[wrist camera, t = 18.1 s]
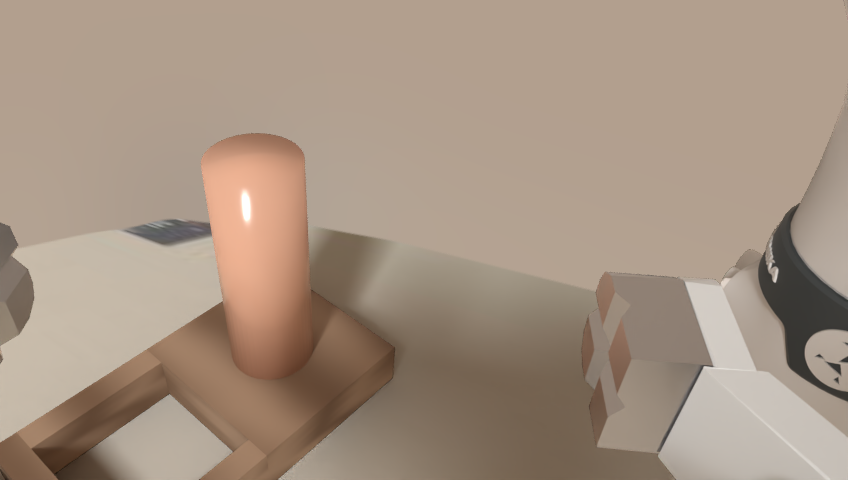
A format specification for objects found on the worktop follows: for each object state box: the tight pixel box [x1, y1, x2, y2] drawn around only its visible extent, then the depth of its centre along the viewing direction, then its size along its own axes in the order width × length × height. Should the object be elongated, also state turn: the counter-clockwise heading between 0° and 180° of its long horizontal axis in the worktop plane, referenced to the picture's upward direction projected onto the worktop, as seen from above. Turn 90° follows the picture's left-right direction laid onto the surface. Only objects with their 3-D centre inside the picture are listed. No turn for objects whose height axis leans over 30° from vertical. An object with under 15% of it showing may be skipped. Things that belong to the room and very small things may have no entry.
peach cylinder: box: [201, 133, 313, 380], centre depth 39 cm, size 5×5×14 cm
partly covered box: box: [0, 290, 395, 480], centre depth 42 cm, size 20×11×3 cm, turn 140°
